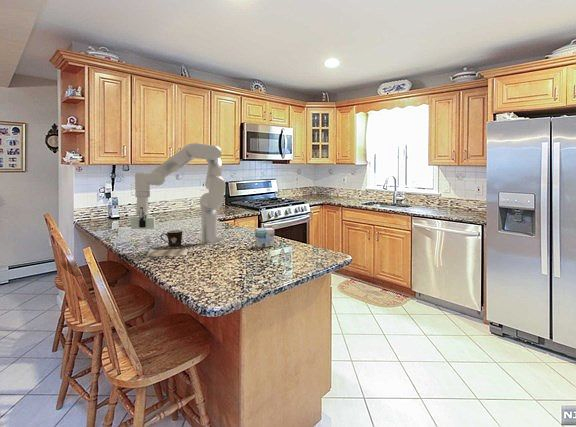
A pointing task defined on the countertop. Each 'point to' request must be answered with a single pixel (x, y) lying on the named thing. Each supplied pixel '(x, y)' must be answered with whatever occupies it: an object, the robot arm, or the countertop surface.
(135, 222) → the slotted block
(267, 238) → the light bulb box
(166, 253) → the base plate
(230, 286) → the countertop surface
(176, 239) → the coffee mug
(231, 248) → the countertop surface
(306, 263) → the countertop surface
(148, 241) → the t key
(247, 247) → the countertop surface
